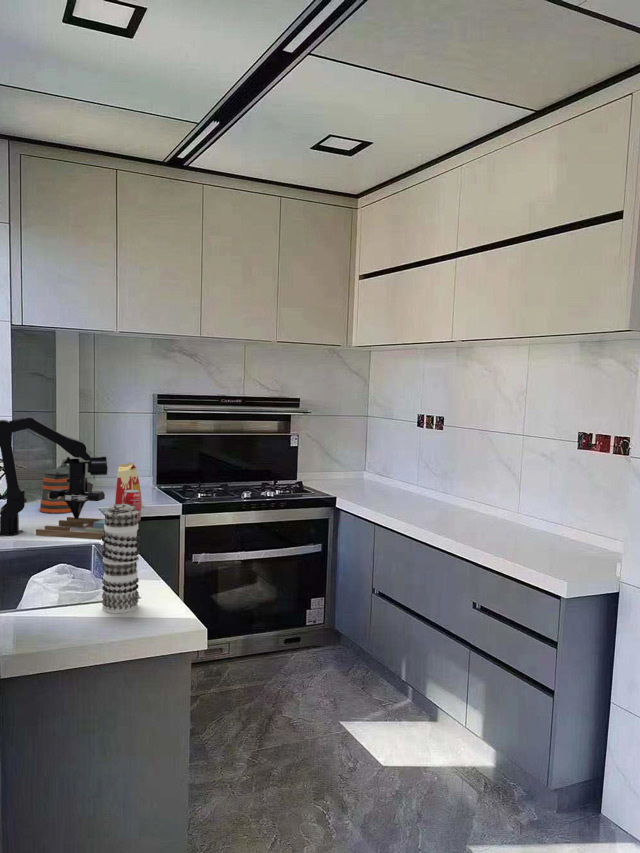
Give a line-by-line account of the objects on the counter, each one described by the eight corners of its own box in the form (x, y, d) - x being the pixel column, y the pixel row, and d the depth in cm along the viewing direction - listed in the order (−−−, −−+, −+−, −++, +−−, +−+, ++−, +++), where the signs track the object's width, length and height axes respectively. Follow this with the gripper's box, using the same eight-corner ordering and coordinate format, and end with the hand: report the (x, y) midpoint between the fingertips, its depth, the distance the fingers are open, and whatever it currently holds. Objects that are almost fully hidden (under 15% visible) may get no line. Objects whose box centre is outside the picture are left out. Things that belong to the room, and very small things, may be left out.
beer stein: (44, 505, 292) (44, 458, 291) (80, 505, 295) (81, 458, 294) (37, 514, 274) (37, 464, 272) (76, 513, 277) (76, 464, 276)
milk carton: (142, 507, 295) (143, 460, 293) (131, 511, 286) (131, 463, 285) (123, 505, 297) (124, 459, 296) (111, 509, 288) (112, 461, 287)
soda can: (121, 520, 267) (121, 489, 267) (139, 519, 270) (140, 489, 269) (122, 523, 261) (123, 492, 260) (141, 523, 263) (142, 491, 262)
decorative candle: (111, 599, 172) (112, 501, 171) (146, 603, 171) (147, 503, 169) (93, 611, 163) (94, 507, 162) (129, 615, 162) (130, 510, 160)
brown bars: (107, 539, 235) (107, 531, 234) (35, 535, 238) (35, 526, 237) (133, 526, 257) (133, 518, 257) (67, 522, 260) (67, 514, 260)
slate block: (108, 534, 243) (109, 523, 243) (93, 533, 244) (93, 522, 244) (117, 531, 249) (117, 520, 249) (101, 530, 250) (101, 519, 250)
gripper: (111, 474, 254) (110, 515, 255) (63, 471, 256) (63, 513, 257) (98, 478, 243) (97, 521, 244) (48, 475, 245) (47, 518, 246)
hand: (76, 518), depth 248 cm, fingers closed
